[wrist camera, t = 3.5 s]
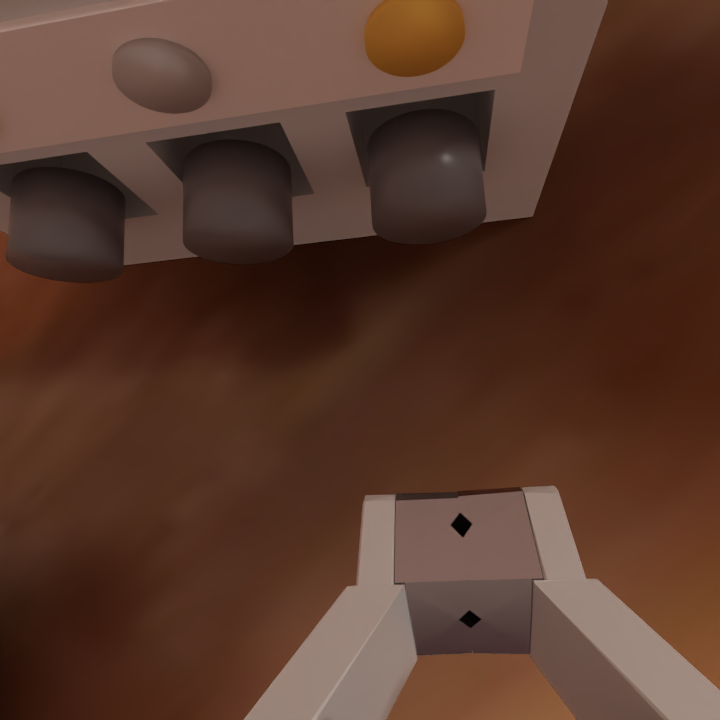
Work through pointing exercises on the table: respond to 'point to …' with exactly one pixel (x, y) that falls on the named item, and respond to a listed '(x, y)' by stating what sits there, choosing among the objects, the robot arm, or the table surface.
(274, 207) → the button
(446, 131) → the button
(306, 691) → the robot arm
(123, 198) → the button
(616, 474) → the table surface
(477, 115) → the console
